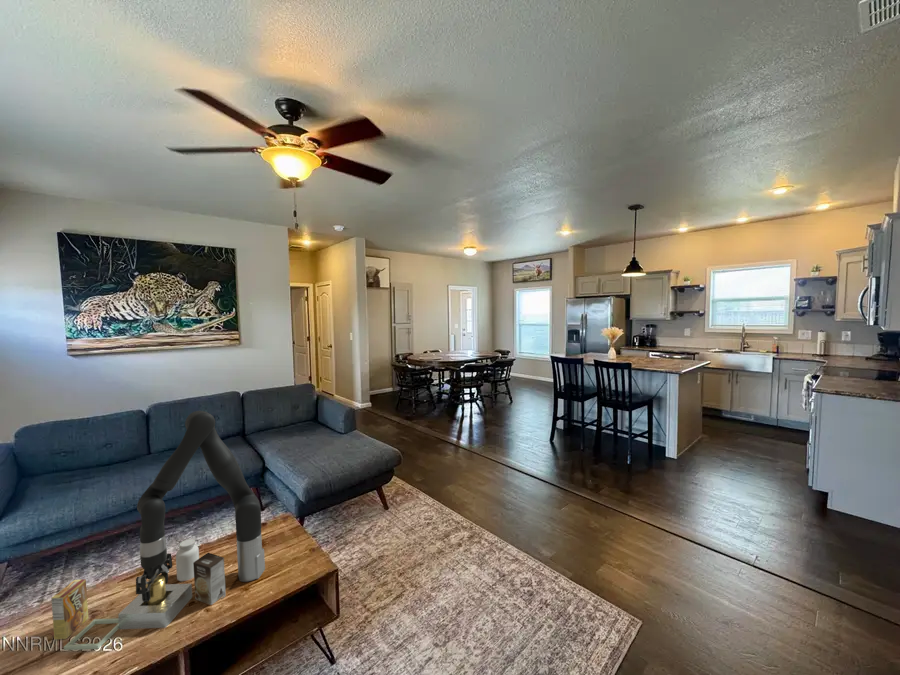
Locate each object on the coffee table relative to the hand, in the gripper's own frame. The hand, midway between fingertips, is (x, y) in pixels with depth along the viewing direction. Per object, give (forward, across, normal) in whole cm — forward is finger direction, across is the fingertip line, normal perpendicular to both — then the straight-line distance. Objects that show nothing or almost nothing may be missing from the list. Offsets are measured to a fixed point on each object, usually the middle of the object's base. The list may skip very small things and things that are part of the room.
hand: (155, 591), depth 136 cm
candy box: (+9, -5, +26) cm, 28 cm away
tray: (+9, -9, +14) cm, 19 cm away
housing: (+9, 0, 0) cm, 9 cm away
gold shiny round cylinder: (+8, 0, 0) cm, 8 cm away
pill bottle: (+9, +20, +2) cm, 22 cm away
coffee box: (+9, +7, -15) cm, 19 cm away
